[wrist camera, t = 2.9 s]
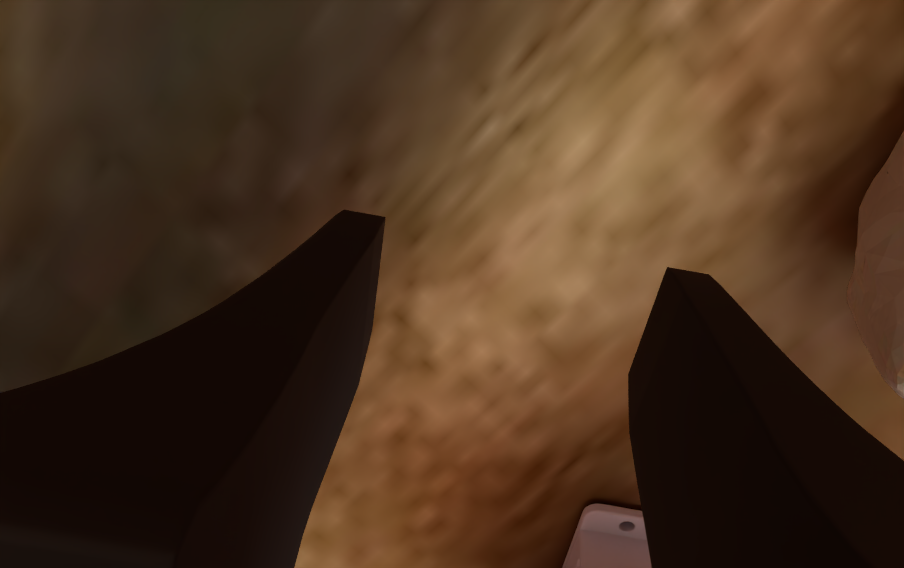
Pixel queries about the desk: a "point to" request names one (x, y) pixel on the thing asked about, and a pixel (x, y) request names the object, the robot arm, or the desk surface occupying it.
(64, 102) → the desk surface
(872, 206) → the ceramic sculpture
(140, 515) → the robot arm
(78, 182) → the desk surface
